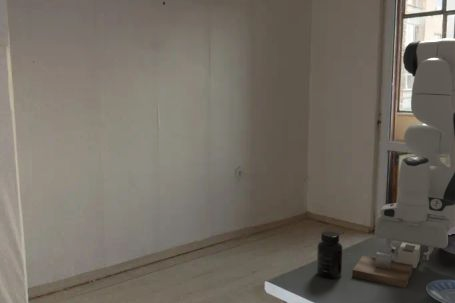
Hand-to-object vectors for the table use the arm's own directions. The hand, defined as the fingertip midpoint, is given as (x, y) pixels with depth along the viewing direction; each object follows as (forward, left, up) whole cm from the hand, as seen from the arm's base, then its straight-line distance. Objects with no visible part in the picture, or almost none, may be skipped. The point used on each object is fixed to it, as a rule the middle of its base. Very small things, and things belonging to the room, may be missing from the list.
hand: (409, 256), depth 136 cm
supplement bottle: (+21, -18, -2) cm, 28 cm away
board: (+13, -5, -2) cm, 14 cm away
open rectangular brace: (0, 0, -2) cm, 2 cm away
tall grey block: (+13, -5, 0) cm, 14 cm away
